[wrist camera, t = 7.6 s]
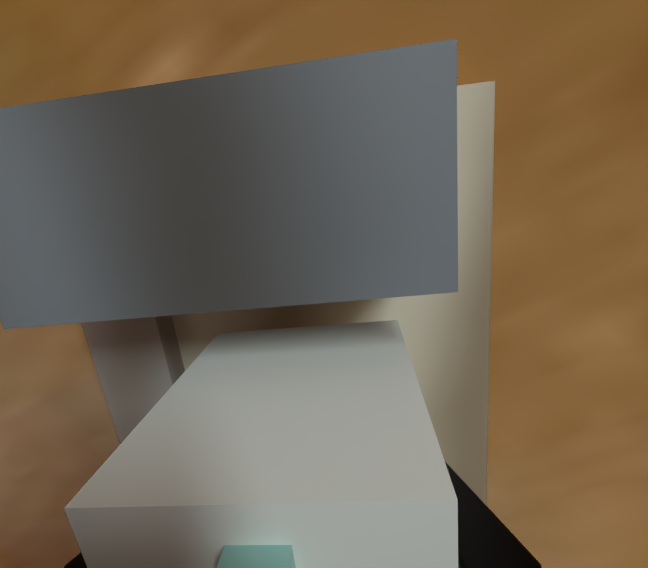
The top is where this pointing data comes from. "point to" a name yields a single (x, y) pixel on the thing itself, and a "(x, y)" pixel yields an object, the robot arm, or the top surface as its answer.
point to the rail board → (262, 222)
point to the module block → (279, 462)
